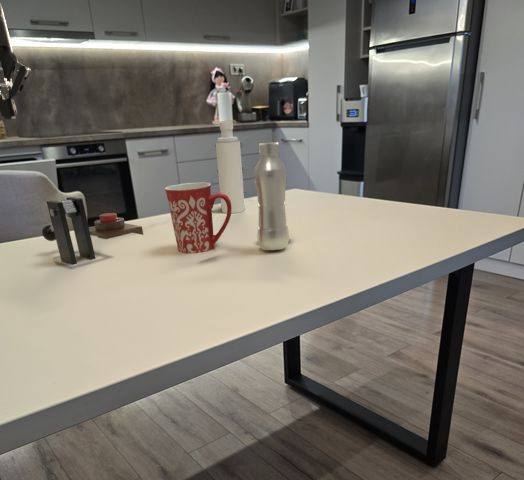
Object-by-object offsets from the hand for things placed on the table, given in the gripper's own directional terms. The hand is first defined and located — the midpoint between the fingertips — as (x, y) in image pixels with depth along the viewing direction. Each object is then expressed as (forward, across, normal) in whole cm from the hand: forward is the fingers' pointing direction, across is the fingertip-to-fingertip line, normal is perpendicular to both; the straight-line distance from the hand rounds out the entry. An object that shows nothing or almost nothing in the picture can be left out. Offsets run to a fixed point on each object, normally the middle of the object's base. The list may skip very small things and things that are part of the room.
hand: (10, 119), depth 101 cm
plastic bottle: (+27, -53, +18) cm, 62 cm away
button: (+23, -15, -5) cm, 28 cm away
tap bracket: (+27, -14, +20) cm, 36 cm away
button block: (+27, -15, -5) cm, 31 cm away
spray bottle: (+27, -44, -28) cm, 59 cm away
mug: (+27, -39, +18) cm, 51 cm away
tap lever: (+20, -11, +17) cm, 29 cm away
